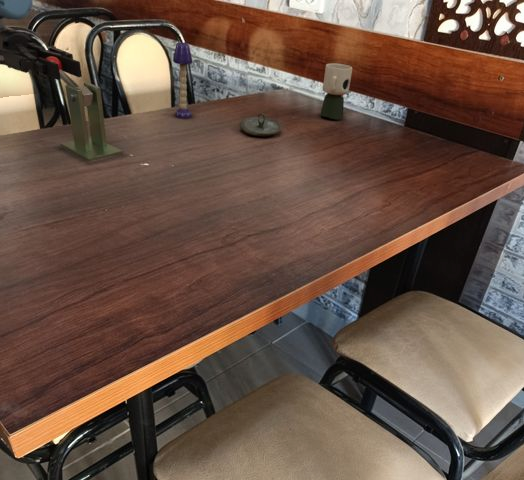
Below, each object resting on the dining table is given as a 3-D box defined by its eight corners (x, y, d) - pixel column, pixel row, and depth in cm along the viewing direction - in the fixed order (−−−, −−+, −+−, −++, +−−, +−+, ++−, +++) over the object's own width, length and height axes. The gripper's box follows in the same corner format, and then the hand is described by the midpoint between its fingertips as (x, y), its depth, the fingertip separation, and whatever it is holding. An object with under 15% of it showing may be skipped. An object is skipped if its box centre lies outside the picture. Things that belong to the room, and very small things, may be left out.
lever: (40, 71, 104) (39, 53, 101) (56, 69, 106) (56, 52, 103) (79, 110, 100) (80, 92, 97) (95, 107, 102) (96, 90, 99)
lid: (272, 132, 132) (271, 111, 130) (289, 133, 124) (288, 111, 122) (234, 136, 129) (232, 114, 126) (249, 138, 120) (247, 115, 118)
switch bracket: (60, 148, 107) (49, 82, 99) (93, 142, 112) (85, 77, 104) (89, 164, 102) (79, 95, 94) (123, 156, 106) (116, 90, 98)
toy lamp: (196, 117, 132) (196, 44, 121) (184, 120, 129) (182, 45, 118) (183, 113, 134) (181, 40, 123) (170, 116, 131) (167, 42, 120)
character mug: (339, 125, 137) (348, 71, 128) (314, 120, 138) (321, 67, 130) (347, 115, 145) (356, 64, 136) (323, 111, 146) (330, 60, 138)
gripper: (50, 64, 119) (108, 86, 107) (-23, 71, 109) (31, 96, 97) (44, 26, 114) (103, 46, 102) (-34, 30, 104) (22, 52, 92)
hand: (68, 70), depth 100 cm, fingers open, 4 cm apart
